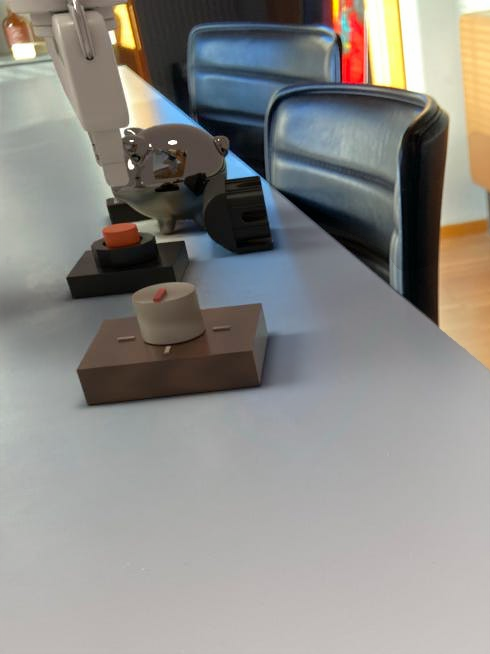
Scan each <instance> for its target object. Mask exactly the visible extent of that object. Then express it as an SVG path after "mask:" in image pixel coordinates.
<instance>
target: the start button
mask: <svg viewBox="0 0 490 654" xmlns="http://www.w3.org/2000/svg"><path fill="white" fill-rule="evenodd" d="M138 232H139V229H138V225H137V224H136V223H133V222H125V223H118V224H111V225H107V226H105V227H103V228H102V229H101V234H102V236H103V237H102V238H104V240H105V244H106V246H109V247H116V246H125V245H130V244H134V243H137V242H139V241H141V240H140V236H139V233H138Z"/></svg>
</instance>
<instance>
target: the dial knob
mask: <svg viewBox="0 0 490 654" xmlns="http://www.w3.org/2000/svg"><path fill="white" fill-rule="evenodd" d="M131 300H132V305H133V309H134V312H135V317H136V316H137V320H138V323H139V327H140V331H141V334H142V338H143V340H144V341H145V342H147V343H150V344H157V345H166V344H175V343H180V342H184V341H188V340H191V339H193V338H195V337H198V336H199V335H201V334H202V333H203V332H204V331H205V326H204V321H203V317H202V313H201V305H200V301H199V297H198V293H197V288H196V286H195V285H194V284H192V283H189V282H182V281H180V282H171V283H162V284H157V285H153V286H149V287H146V288H143V289H141V290H139V291H137V292H133V294H132V295H131Z"/></svg>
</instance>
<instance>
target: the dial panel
mask: <svg viewBox="0 0 490 654" xmlns="http://www.w3.org/2000/svg"><path fill="white" fill-rule="evenodd" d="M200 309H201V308H200ZM201 313H202V317H203V321H204V326H205V331H204V332H203V333H202V334H201V335H199V336H198V337H195V338H193V339H191V340H188V341H184V342H180V343H175V344H166V345H157V344H150V343H147V342H145V341H144V340H143V338H142V334H141V331H140V327H139V323H138V320H137V316H136V315H135V316H129V317H120V318H119V317H117V318H109V319H104V320H103V321H102V323H101V324H100V327H99V328H98V330H97V332H96V334H95V335H94V338H92V341H91V343H90V344H89V347H88V348H87V350H86V351H85V353H84V356H83V357H82V359H81V360H80V363H79V364H78V366H77V368H76V370H75V372H76V374H77V377H78V380H79V383H80V386H81V391H82V393H83V396H84V398H85V402H86V405H87V406H91V405H92V406H93V405H100V404H108V403H109V404H110V403H117V402H118V403H119V402H126V401H128V402H129V401H134V400H135V401H136V400H144V399H145V400H146V399H151V398H152V399H153V398H163V397H171V396H172V397H173V396H180V395H187V394H188V395H189V394H198V393H207V392H215V391H216V392H217V391H225V390H235V389H242V388H251V387H259V386H261V381H262V380H261V379H262V374H263V370H264V369H263V368H264V361H265V356H266V350H267V345H268V339H269V332H268V328H267V323H266V322H267V321H266V318H265V312H264V307H263V302H256V303H248V304H238V305H228V306H220V307H219V306H218V307H212V308H211V307H209V308H202V309H201Z"/></svg>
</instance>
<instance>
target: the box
mask: <svg viewBox="0 0 490 654" xmlns="http://www.w3.org/2000/svg"><path fill="white" fill-rule="evenodd" d="M138 233H139V236H140V240H141V241H139V242H137V243H134V244H130V245H125V246H116V247H109V246H106V244H105V240H104V237H102V238H100V239H96V240H95V241H93V242H92V243H91V245H90V250H85V251H84V252H83V254H82V255H81V256H80V257H79V259H78V261H76V263H75V264H74V266H73V267H72V268H71V270H70V271H69V273H67V275H66V277H65V279H66V283H67V285H68V286H67V287H68V289H69V293H70V295H71V299H82V298H90V297H100V296H109V295H110V296H111V295H117V294H127V293H135V292H137V291H139V290H141V289H143V288H146V287H149V286H153V285H157V284H162V283H171V282H182V281H181V280H182V279H183V276H184V273H185V271H186V269H187V267H188V264H189V262H190V258H189V254H188V253H189V252H188V249H187V245H186V241H185V240H175V241H166V242H157V241H156V236H155V235H154V234H152V233H150V232H145V231H143V232H142V231H138Z"/></svg>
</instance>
